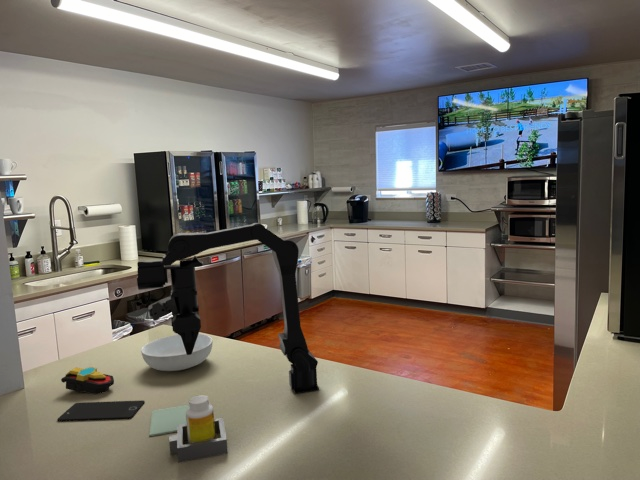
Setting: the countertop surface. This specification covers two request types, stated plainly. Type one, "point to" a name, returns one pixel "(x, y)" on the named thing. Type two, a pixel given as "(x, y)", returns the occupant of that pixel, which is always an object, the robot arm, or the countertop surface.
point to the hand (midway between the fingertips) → (188, 348)
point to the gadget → (88, 380)
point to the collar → (198, 444)
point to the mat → (167, 420)
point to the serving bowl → (175, 353)
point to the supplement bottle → (200, 420)
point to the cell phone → (101, 411)
